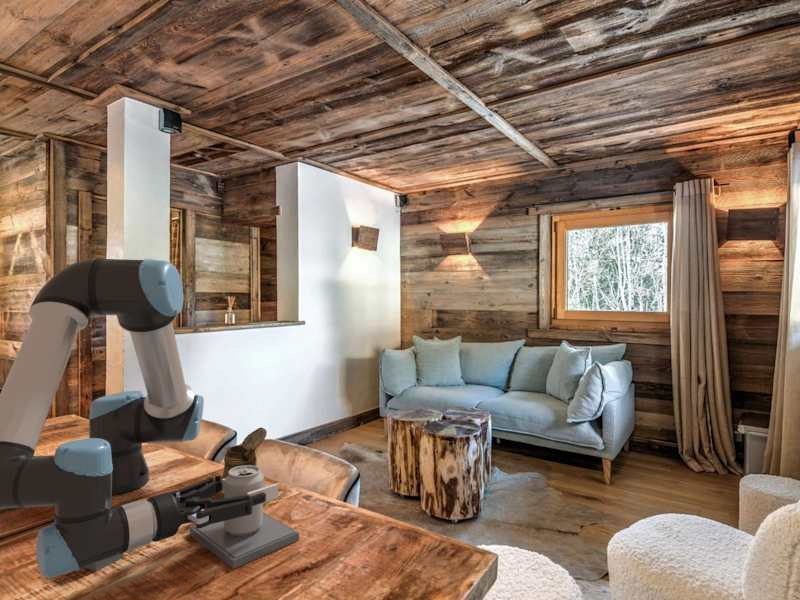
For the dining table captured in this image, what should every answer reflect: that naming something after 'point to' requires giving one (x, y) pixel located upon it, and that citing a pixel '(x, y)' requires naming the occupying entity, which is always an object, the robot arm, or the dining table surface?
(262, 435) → the wooden mug
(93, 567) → the dice cube
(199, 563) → the dining table surface
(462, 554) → the dining table surface
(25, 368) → the robot arm
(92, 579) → the dining table surface
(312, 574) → the dining table surface
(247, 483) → the can
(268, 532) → the slate board
